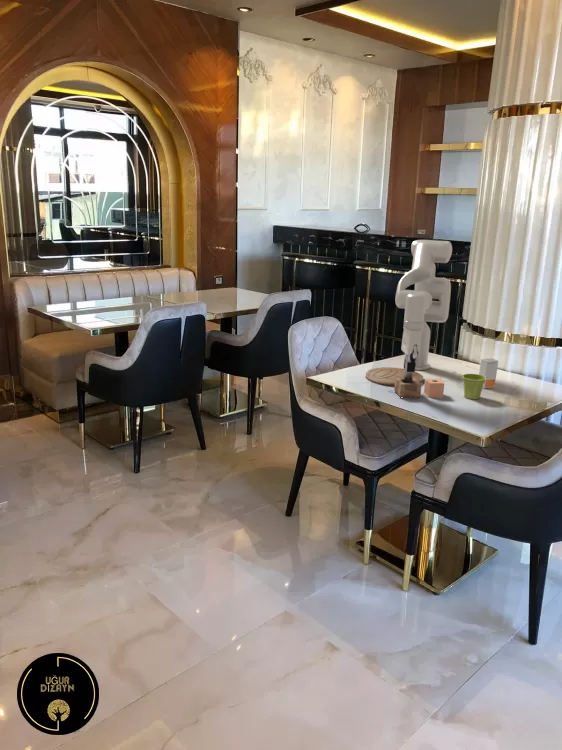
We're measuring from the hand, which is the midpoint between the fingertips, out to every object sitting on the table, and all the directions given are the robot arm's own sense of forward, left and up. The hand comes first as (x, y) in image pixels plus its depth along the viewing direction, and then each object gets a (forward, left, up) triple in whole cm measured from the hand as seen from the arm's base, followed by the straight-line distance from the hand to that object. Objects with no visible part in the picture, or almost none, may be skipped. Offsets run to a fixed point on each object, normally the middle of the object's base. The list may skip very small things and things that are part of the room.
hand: (409, 369), depth 247 cm
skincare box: (-11, +38, -11) cm, 41 cm away
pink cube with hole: (0, +11, -11) cm, 15 cm away
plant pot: (+3, +26, -11) cm, 28 cm away
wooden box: (0, 0, -11) cm, 11 cm away
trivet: (-23, +1, -11) cm, 26 cm away
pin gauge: (0, 0, -5) cm, 5 cm away
